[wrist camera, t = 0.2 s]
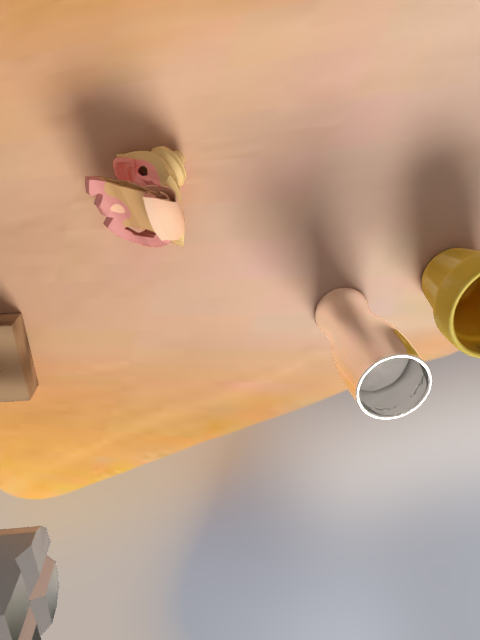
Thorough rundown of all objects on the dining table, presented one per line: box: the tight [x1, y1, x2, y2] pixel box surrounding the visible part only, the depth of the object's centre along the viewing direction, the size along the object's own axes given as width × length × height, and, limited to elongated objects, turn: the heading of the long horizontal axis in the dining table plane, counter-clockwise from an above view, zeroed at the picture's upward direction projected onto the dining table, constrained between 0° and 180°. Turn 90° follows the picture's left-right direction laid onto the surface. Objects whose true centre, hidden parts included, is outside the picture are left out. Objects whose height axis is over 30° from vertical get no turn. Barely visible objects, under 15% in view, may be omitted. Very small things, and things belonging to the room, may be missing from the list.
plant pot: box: [422, 248, 480, 358], centre depth 46 cm, size 10×10×10 cm
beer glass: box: [315, 288, 432, 419], centre depth 44 cm, size 7×7×15 cm
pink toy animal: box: [85, 146, 187, 247], centre depth 41 cm, size 9×10×10 cm
